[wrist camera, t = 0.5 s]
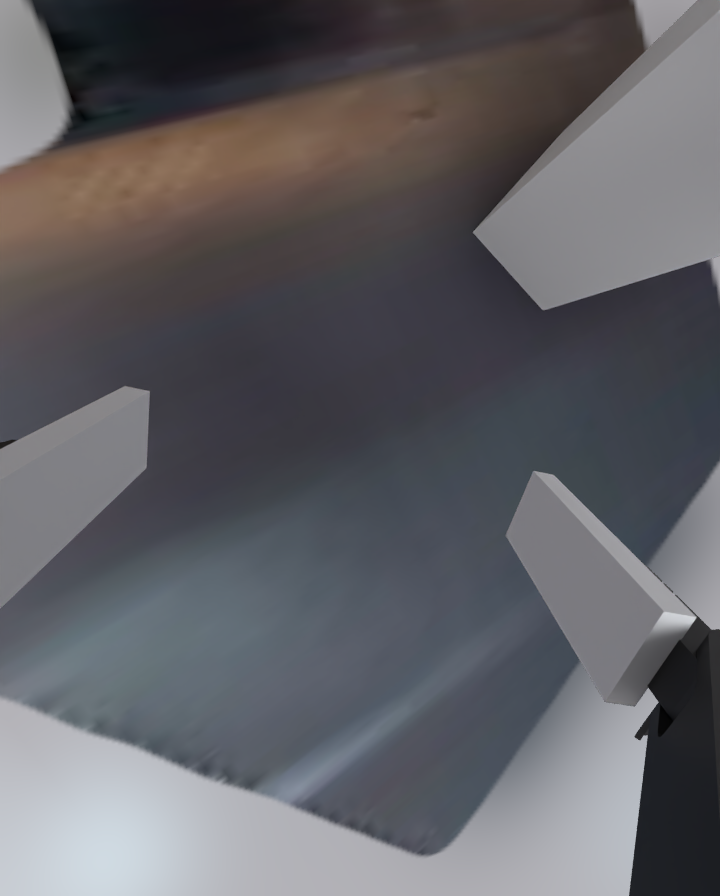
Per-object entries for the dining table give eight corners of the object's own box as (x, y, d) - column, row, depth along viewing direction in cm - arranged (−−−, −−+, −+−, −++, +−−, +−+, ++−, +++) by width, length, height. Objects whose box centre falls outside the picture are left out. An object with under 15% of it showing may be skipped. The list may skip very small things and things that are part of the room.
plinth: (542, 325, 41) (1166, 172, 11) (457, 232, 38) (967, -271, 9) (641, 216, 40) (1548, -234, 11) (561, 115, 38) (1447, -805, 9)
